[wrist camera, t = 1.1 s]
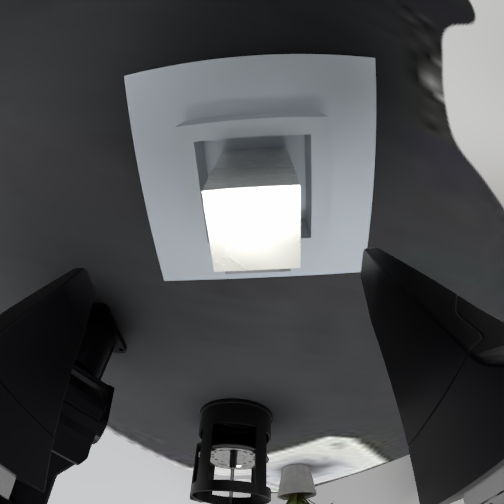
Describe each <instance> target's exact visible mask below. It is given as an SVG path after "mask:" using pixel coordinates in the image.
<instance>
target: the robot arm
mask: <svg viewBox="0 0 504 504" xmlns="http://www.w3.org/2000/svg"><path fill="white" fill-rule="evenodd" d="M361 279H362V284H363V288H364V292H365V296H366V301H367V305H368V310H369V314H370V318H371V322H372V325H373V328H374V331H375V334H376V337H377V340H378V343H379V346H380V349H381V352H382V355H383V358H384V362H385V365H386V368H387V371H388V375H389V378H390V381H391V385H392V388H393V391H394V395H395V398H396V402H397V406H398V409H399V413H400V417H401V420H402V424H403V428H404V432H405V436H406V440H407V444H408V446H409V447H408V449H409V453H410V458H411V462H412V467H413V471H414V476H415V481H416V486H417V491H418V496H419V502H420V504H450V503H452V502H454V501H457V500H460V499H462V498H463V499H464V503H465V504H504V322H503V321H501V320H500V319H498V318H496V317H494V316H492V315H491V314H489V313H487V312H485V311H483V310H482V309H480V308H478V307H477V306H475V305H473V304H472V303H470V302H468V301H467V300H465V299H464V298H462V297H461V296H457V294H456V293H454V292H452V291H451V290H449V289H447V288H446V287H444V286H442V285H441V284H439V283H438V282H436V281H434V280H433V279H431V278H429V277H427V276H426V275H424V274H422V273H421V272H419V271H417V270H416V269H414V268H412V267H410V266H409V265H407V264H405V263H403V262H402V261H400V260H398V259H396V258H395V257H393V256H391V255H389V254H388V253H386V252H384V251H382V250H380V249H379V248H366V249H364V251H363V257H362V267H361ZM94 295H95V288H94V285H93V283H92V281H91V278H90V276H89V273H88V271H87V270H86V269H85V268H76V269H73V270H72V271H70V272H68V273H66V274H65V275H63V276H61V277H60V278H58V279H56V280H54V281H53V282H51V283H49V284H48V285H46V286H44V287H43V288H41V289H40V290H38V291H36V292H35V293H33V294H31V295H30V296H28V297H27V298H25V299H23V300H22V301H20V302H19V303H17V304H15V305H14V306H12V307H11V308H9V309H8V310H6V311H5V312H3V313H2V314H1V315H0V504H47V502H48V499H49V496H50V493H51V490H52V487H53V484H54V481H55V479H56V477H57V475H58V474H60V473H61V472H63V471H65V470H66V469H68V468H70V467H71V466H73V465H75V464H76V465H79V464H80V463H82V462H83V461H84V460H86V459H87V457H88V454H89V450H90V448H91V445H92V444H95V443H96V442H97V441H98V440H99V439H100V437H101V435H102V434H103V432H104V430H105V428H106V425H107V422H108V419H109V413H110V408H111V403H112V398H113V393H114V387H112V386H110V385H107V384H106V383H104V382H102V381H101V378H102V375H103V373H104V371H105V368H106V366H107V363H108V361H109V359H110V356H111V354H112V352H116V353H125V351H126V346H125V344H124V342H123V340H122V338H121V336H120V334H119V331H118V329H117V327H116V325H115V323H114V320H113V318H112V316H111V314H110V311H109V309H108V307H107V306H106V305H104V304H92V303H93V299H94ZM103 309H104V310H103Z"/></svg>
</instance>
